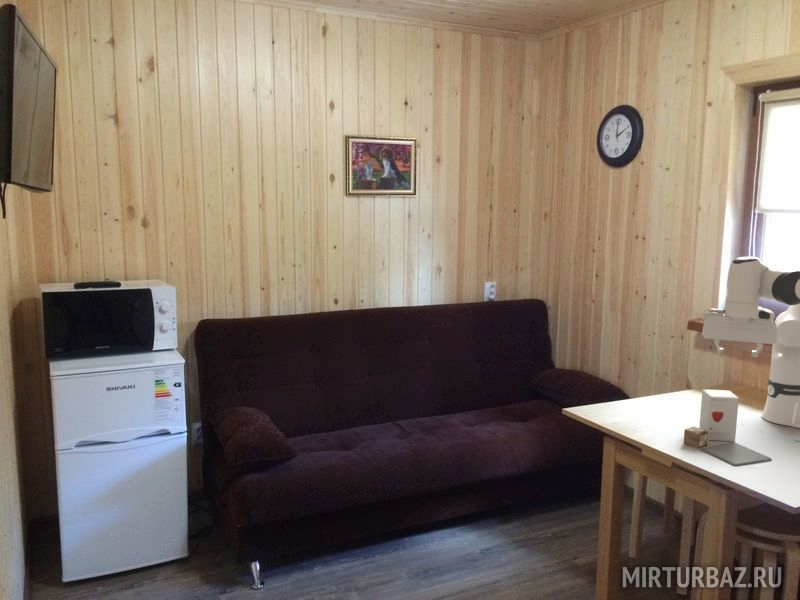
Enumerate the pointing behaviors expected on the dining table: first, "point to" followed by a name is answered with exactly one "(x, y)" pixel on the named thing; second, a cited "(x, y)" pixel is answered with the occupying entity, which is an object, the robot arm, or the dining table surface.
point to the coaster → (735, 454)
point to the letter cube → (695, 437)
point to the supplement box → (719, 414)
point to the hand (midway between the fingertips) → (736, 355)
